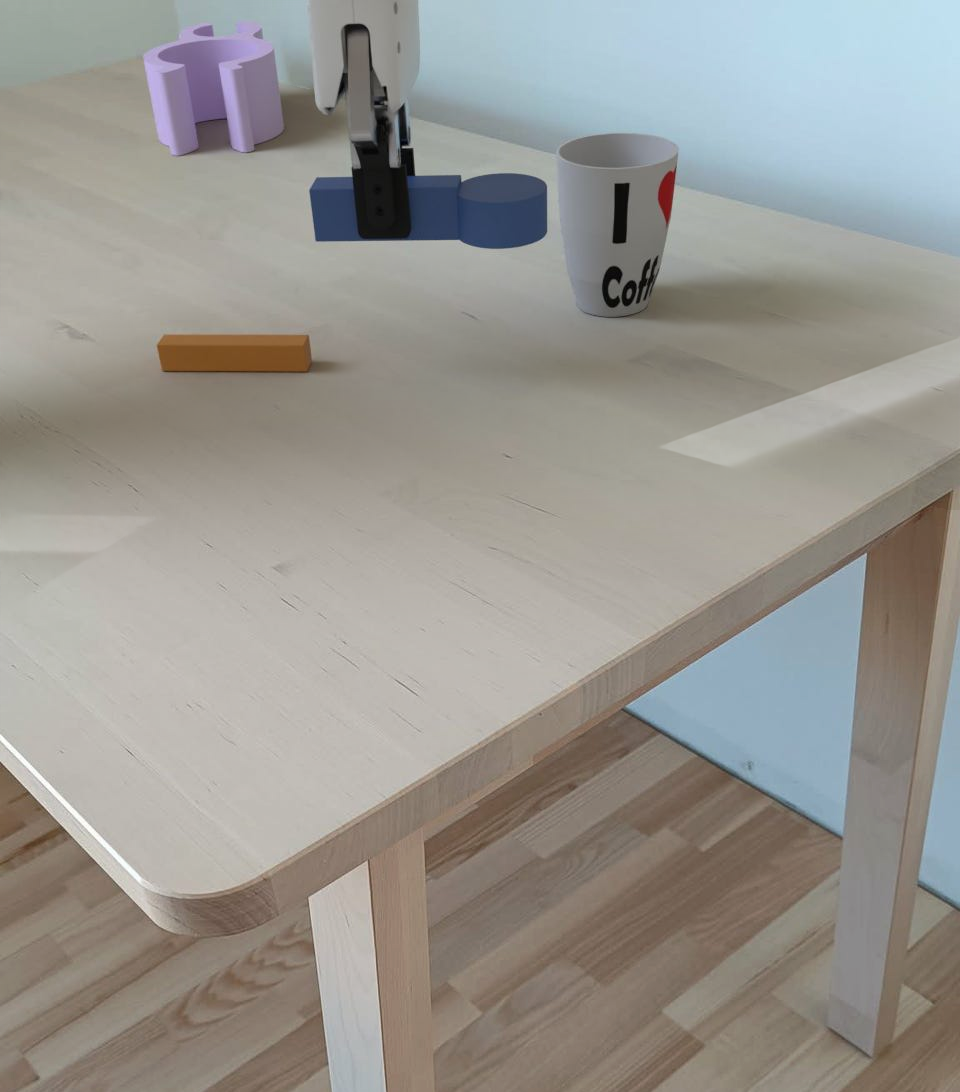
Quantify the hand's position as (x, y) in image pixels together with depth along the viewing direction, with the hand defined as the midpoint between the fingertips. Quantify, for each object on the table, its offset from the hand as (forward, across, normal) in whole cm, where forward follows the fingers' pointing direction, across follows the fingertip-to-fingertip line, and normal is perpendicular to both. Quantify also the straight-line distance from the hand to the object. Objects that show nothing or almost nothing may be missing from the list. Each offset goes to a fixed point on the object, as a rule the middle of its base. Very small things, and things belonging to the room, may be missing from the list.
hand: (388, 225), depth 79 cm
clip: (+9, -58, -26) cm, 64 cm away
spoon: (+1, 0, +2) cm, 2 cm away
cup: (+9, -11, +14) cm, 20 cm away
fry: (+9, 0, -11) cm, 14 cm away
